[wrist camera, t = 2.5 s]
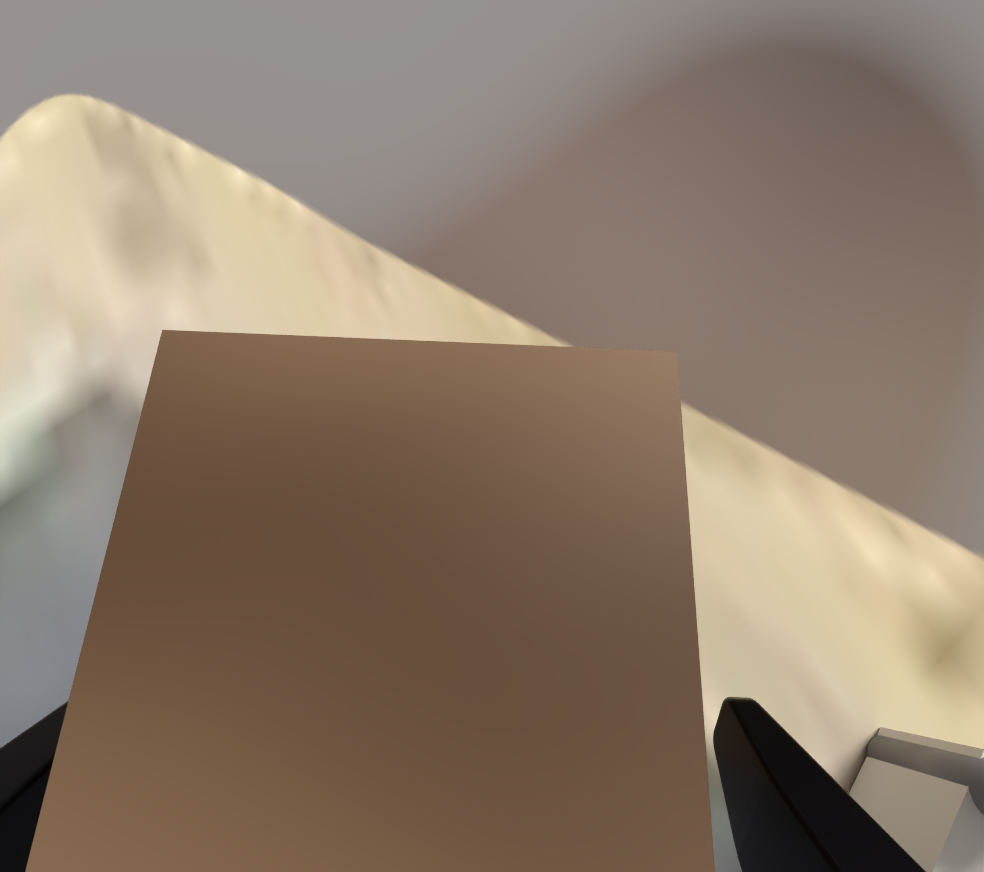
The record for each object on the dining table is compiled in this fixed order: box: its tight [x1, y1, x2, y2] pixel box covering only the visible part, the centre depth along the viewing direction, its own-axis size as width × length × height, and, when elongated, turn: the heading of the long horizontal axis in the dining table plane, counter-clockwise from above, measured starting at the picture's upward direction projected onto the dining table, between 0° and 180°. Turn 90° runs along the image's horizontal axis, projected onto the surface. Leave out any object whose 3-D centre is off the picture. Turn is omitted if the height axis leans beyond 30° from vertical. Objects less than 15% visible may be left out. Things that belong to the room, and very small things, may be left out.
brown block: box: [25, 330, 715, 872], centre depth 11 cm, size 5×5×14 cm
